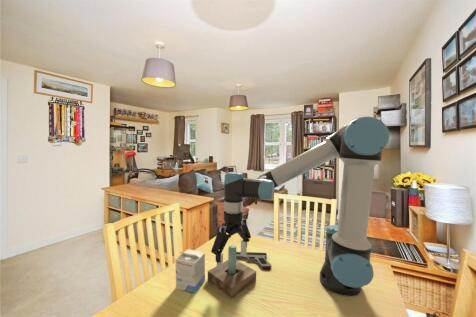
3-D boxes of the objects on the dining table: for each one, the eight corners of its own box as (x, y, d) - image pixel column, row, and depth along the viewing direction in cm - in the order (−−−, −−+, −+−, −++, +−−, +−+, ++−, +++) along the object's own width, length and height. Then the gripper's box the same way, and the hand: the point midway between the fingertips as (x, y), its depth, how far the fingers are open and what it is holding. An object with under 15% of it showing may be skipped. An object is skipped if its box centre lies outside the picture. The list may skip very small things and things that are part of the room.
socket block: (256, 280, 83) (256, 271, 83) (231, 298, 73) (232, 288, 73) (231, 266, 93) (232, 257, 93) (207, 280, 83) (207, 271, 83)
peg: (237, 280, 83) (238, 247, 82) (231, 284, 81) (232, 250, 80) (231, 276, 85) (232, 244, 85) (226, 280, 83) (226, 247, 82)
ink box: (205, 280, 83) (205, 248, 82) (194, 294, 75) (194, 259, 74) (187, 275, 86) (187, 244, 85) (175, 288, 78) (175, 254, 77)
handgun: (271, 266, 91) (268, 252, 103) (234, 265, 91) (235, 251, 103) (271, 270, 91) (268, 256, 103) (234, 269, 91) (235, 255, 103)
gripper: (246, 203, 93) (245, 248, 94) (202, 215, 75) (201, 271, 76) (259, 206, 88) (258, 254, 89) (215, 221, 70) (214, 280, 71)
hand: (232, 262), depth 83 cm, fingers open, 13 cm apart
